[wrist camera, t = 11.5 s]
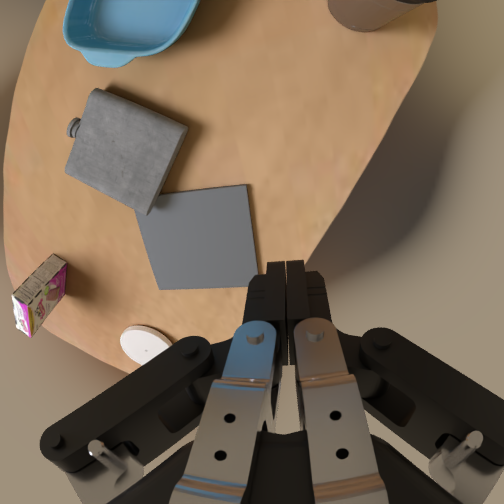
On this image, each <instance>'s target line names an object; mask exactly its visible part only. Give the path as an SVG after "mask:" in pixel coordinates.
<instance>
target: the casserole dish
mask: <svg viewBox="0 0 504 504" xmlns="http://www.w3.org/2000/svg"><path fill="white" fill-rule="evenodd" d="M199 3H200V0H69V3H68V6H67V9H66V13H65V17H64V22H63V35H64V39H65V41H66V43H67V44H68V45H69V46H70V47H72V48H74V49H76V50H79V51H80V52H81V53H82V54H83V56H84V57H85V59H86V60H87V61H88V62H89V63H91V64H92V65H95V66H101V67H111V68H116V67H122V66H124V65H126V64H128V63H129V62H131V61H132V60H133V59H134V58H136V57H140V56H149V55H154V54H157V53H159V52H162V51H164V50H165V49H167V48H168V47H170V46H171V45H172V44H173V43H175V42H176V41H177V40H178V39H179V38H180V37H181V35H182V34H183V33H184V31H185V30H186V29H187V27H188V25H189V24H190V22H191V20H192V18H193V16H194V14H195V12H196V9H197V7H198V5H199Z"/></svg>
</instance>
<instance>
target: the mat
mask: <svg viewBox="0 0 504 504" xmlns="http://www.w3.org/2000/svg"><path fill="white" fill-rule="evenodd" d="M135 214H136V217H137V221H138V224H139V228H140V231H141V235H142V238H143V241H144V245H145V248H146V251H147V254H148V257H149V261H150V264H151V267H152V270H153V273H154V276H155V279H156V282H157V285H158V288H159V290H171V289H204V288H230V287H248V285H249V282H250V281H251V279H252V278H253V277H254V276H255V275H258V267H257V259H256V252H255V244H254V237H253V229H252V222H251V214H250V207H249V200H248V192H247V185H246V184H243V185H233V186H223V187H214V188H206V189H197V190H189V191H182V192H174V193H167V194H160V195H159V196H158V198H157V200H156V202H155V204H154V206H153V208H152V210H151V212H150V213H149V215H148V216H146V215H144V214H142V213H140V212H138V211H136V210H135Z"/></svg>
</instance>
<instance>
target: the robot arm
mask: <svg viewBox="0 0 504 504" xmlns="http://www.w3.org/2000/svg"><path fill="white" fill-rule="evenodd" d="M434 1H437V0H328V7H329V10H330V12H331V14H332V15H333V17H334V18H335V19H336V20H337V21H338V22H339V23H341V24H342V25H343V26H345V27H347V28H349V29H351V30H354V31H359V32H370V31H374V30H376V29H378V28H380V27H381V26H383V25H385V24H387V23H389V22H390V21H392V20H394V19H396V18H397V17H399V16H401V15H403V14H405V13H406V12H408V11H410V10H412V9H414V8H416V7H418V6H420V5H421V4H423V3H429V2H434ZM286 273H287V283H286ZM246 298H247V300H246V304H245V310H244V316H243V323H242V325H241V326H240V327H239V328H238V329H237V330H236V331H235V333H234V336H233V337H232V338H231V339H228V340H226V341H223V342H219V343H215V344H211V345H210V343H209V342H208V341H207V340H206V339H205V338H203V337H199V336H189V337H185V338H182V339H180V340H179V341H177V342H176V343H174V344H173V345H171V346H170V347H169V348H167V349H166V350H164V351H163V352H161V353H160V354H158V355H157V356H156V357H154V358H153V359H151V360H150V361H148V362H147V363H145V364H144V365H142V366H141V367H140V368H138V369H137V370H135V371H134V372H132V373H131V374H129V375H128V376H126V377H125V378H123V379H122V380H120V381H119V382H117V383H116V384H114V385H113V386H111V387H110V388H108V389H107V390H105V391H104V392H102V393H101V394H99V395H98V396H96V397H95V398H93V399H92V400H90V401H89V402H87V403H86V404H84V405H83V406H81V407H80V408H78V409H76V410H75V411H73V412H72V413H70V414H69V415H67V416H66V417H64V418H62V419H61V420H59V421H58V422H56V423H55V424H53V425H51V426H50V427H48V428H47V429H46V430H45V431H44V433H43V434H42V436H41V440H40V450H41V452H42V454H43V455H44V457H46V458H47V459H48V460H50V461H51V462H53V463H54V464H55V465H56V466H58V467H59V468H60V469H61V470H62V471H64V472H65V473H66V475H67V477H68V479H69V481H70V482H71V484H72V486H73V488H74V490H75V491H76V493H77V495H78V497H79V498H80V500H81V502H82V503H83V504H483V502H484V501H485V499H486V498H487V496H488V495H489V493H490V492H491V490H492V489H493V487H494V485H495V484H496V482H497V481H498V479H499V477H500V475H501V474H502V472H503V470H504V400H503V399H501V398H500V397H498V396H497V395H495V394H493V393H492V392H490V391H489V390H487V389H486V388H484V387H482V386H481V385H479V384H478V383H476V382H475V381H473V380H471V379H470V378H468V377H467V376H465V375H464V374H462V373H460V372H459V371H457V370H456V369H454V368H452V367H451V366H449V365H448V364H446V363H444V362H443V361H441V360H440V359H438V358H436V357H435V356H433V355H431V354H430V353H428V352H427V351H425V350H424V349H422V348H420V347H419V346H417V345H416V344H414V343H412V342H411V341H409V340H408V339H406V338H404V337H403V336H401V335H400V334H398V333H396V332H395V331H393V330H391V329H388V328H373V329H370V330H368V331H367V332H366V333H365V334H364V335H363V336H362V337H358V336H352V335H348V334H344V333H343V332H341V331H339V330H338V329H336V327H335V326H334V324H333V323H332V320H331V314H330V309H329V303H328V298H327V292H326V288H325V282H324V278H323V277H322V276H321V275H320V274H319V273H318V272H317V271H310V272H305V267H304V260H293V261H286V270H285V261H278V262H267V270H266V274H261V275H255V276H254V277H253V278H252V279H251V281H250V282H249V285H248V293H247V297H246ZM288 339H289V355H290V356H289V357H290V365H295V380H296V392H297V402H298V411H299V421H300V431H298V432H294V433H290V434H286V435H282V434H276V433H275V427H276V418H277V411H278V403H279V395H280V387H281V377H282V366H283V365H288ZM364 409H365V410H366V411H367V412H368V413H370V414H371V415H372V416H373V417H375V418H376V419H377V420H379V421H380V422H381V423H382V424H384V425H385V426H386V427H388V428H389V429H390V430H391V431H393V432H394V433H395V434H397V435H398V436H399V437H400V438H402V439H403V440H404V441H406V442H407V443H408V444H410V445H411V446H412V447H414V448H415V449H416V450H418V451H419V452H420V453H422V454H423V455H425V456H426V457H427V458H429V459H430V461H429V472H430V475H431V476H432V478H433V479H434V480H435V481H436V482H437V483H436V482H435V481H434V480H433V479H431V478H430V477H429V476H428V475H426V474H425V473H424V472H423V471H421V470H420V469H419V468H417V467H416V466H415V465H414V464H413V463H412V462H410V461H409V460H408V459H407V458H406V457H404V456H403V455H402V454H401V453H400V452H398V451H397V450H396V449H395V448H394V447H392V446H391V445H390V444H389V443H387V442H386V441H384V440H383V439H381V438H379V437H377V436H375V435H372V434H370V432H369V428H368V424H367V420H366V416H365V412H364ZM198 425H199V427H198V430H197V433H196V436H195V440H193V441H191V442H189V443H187V444H186V445H184V446H183V447H181V448H180V449H179V450H177V451H176V452H175V453H174V454H173V455H171V456H170V457H169V458H168V459H166V460H165V461H164V462H162V463H161V464H160V465H159V466H157V467H156V468H155V469H153V470H152V471H151V472H150V473H148V474H147V475H146V476H144V477H143V474H144V468H143V467H144V466H145V465H147V464H148V463H150V462H151V461H152V460H154V459H155V458H157V457H158V456H159V455H161V454H162V453H163V452H165V451H166V450H167V449H169V448H170V447H171V446H173V445H174V444H175V443H177V442H178V441H179V440H181V439H182V438H183V437H184V436H186V435H187V434H188V433H189V432H191V431H192V430H193V429H195V428H196V427H197V426H198Z"/></svg>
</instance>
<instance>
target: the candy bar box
mask: <svg viewBox="0 0 504 504" xmlns="http://www.w3.org/2000/svg"><path fill="white" fill-rule="evenodd" d="M66 269H67V262H66V261H64V260H63V259H61V258H59V257H57V256H56V255H54V254H52V255H51V256H50V257H49V258H48V259H47V260H45V261H44V262H43V263H42V264H41V265H40V266H39V267H38V268H37V269H36V270H35V271H34V272H33V273H32V274H31V275H30V276H29V277H28V278H27V279H26V280H25V281H24V282H23V283H22V285H21V286H20V287H19V288H18V289H17V290H16V291H15V292H14V293H13V294H12V301H13V308H14V315H15V321H16V327H17V328H18V329H19V330H20V331H22V332H23V333H25V334H26V335H27V336H29V337H31V338H32V337H33V335H34V334H35V332H36V331H37V330H38V328H39V327H40V326H41V324H42V323H43V322H44V320H45V319H46V318H47V316H48V315H49V314H50V312H51V311H52V310H53V309H54V307H55V306H56V305H57V304H58V302H59V301H60V300H61V299H62V297H63V296H64V295H65V282H66Z"/></svg>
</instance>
